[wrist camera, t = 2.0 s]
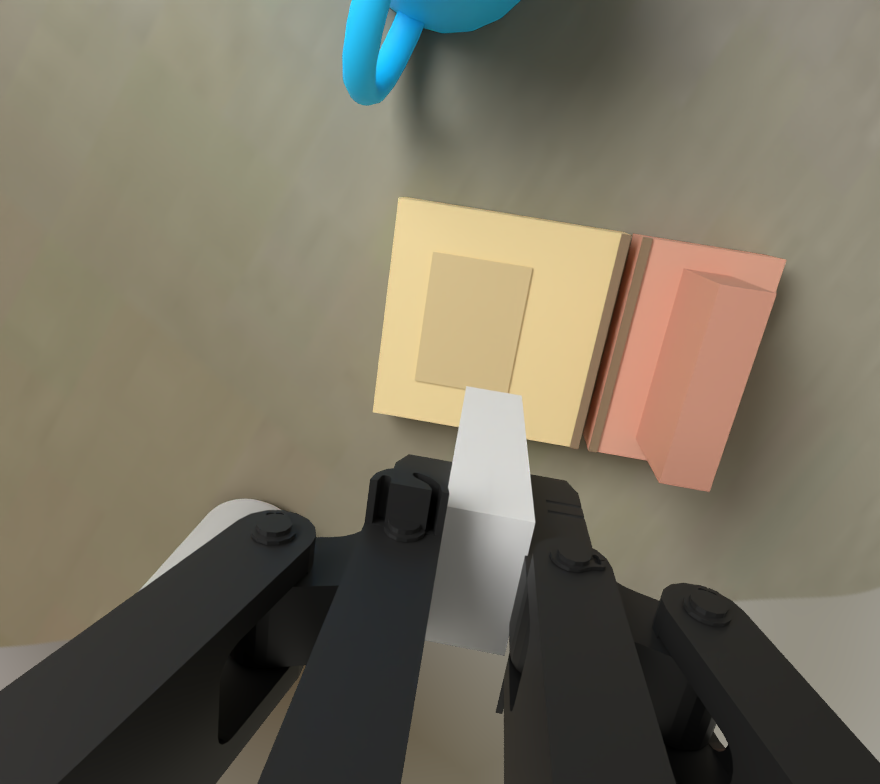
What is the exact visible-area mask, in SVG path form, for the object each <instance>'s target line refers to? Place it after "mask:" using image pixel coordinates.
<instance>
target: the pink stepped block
mask: <svg viewBox="0 0 880 784" xmlns="http://www.w3.org/2000/svg"><path fill="white" fill-rule="evenodd" d="M785 263H786V260H784V259H781V258H777V257H773V256H769V255H764V254H757V253H751V252H745V251H739V250H732V249H726V248H720V247H714V246H708V245H701V244H695V243H689V242H683V241H676V240H670V239H664V238H658V237H652V236H645V235H639V234H633V236H632V240H631V244H630V248H629V252H628V256H627V260H626V264H625V268H624V272H623V276H622V280H621V284H620V288H619V292H618V296H617V300H616V304H615V308H614V312H613V316H612V320H611V324H610V328H609V332H608V336H607V340H606V344H605V348H604V352H603V356H602V360H601V364H600V368H599V372H598V376H597V380H596V384H595V388H594V392H593V396H592V400H591V404H590V408H589V412H588V416H587V420H586V424H585V428H584V432H583V435H584V439H585V442H586V445H587V448H588V451H590V452H596V453H597V452H602V453H607V454H613V455H619V456H624V457H630V458H636V459H641V460H647V461H648V463H649V465H650V466H651V468H652V470H653V472H654V474H655V476H656V478H657V480H658V481H659V483H663V484H668V485H674V486H680V487H685V488H691V489H696V490H702V491H708V492H710V489H711V486H712V483H713V480H714V477H715V474H716V471H717V468H718V465H719V462H720V460H721V457H722V454H723V451H724V448H725V445H726V442H727V439H728V436H729V433H730V430H731V427H732V424H733V421H734V418H735V415H736V412H737V410H738V407H739V404H740V401H741V398H742V395H743V392H744V389H745V386H746V383H747V380H748V377H749V374H750V371H751V368H752V365H753V362H754V360H755V357H756V354H757V351H758V348H759V345H760V342H761V339H762V336H763V333H764V330H765V327H766V324H767V321H768V318H769V315H770V312H771V309H772V307H773V304H774V301H775V298H776V295H777V293H776V290H777V287H778V284H779V281H780V278H781V275H782V272H783V269H784V266H785Z"/></svg>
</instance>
